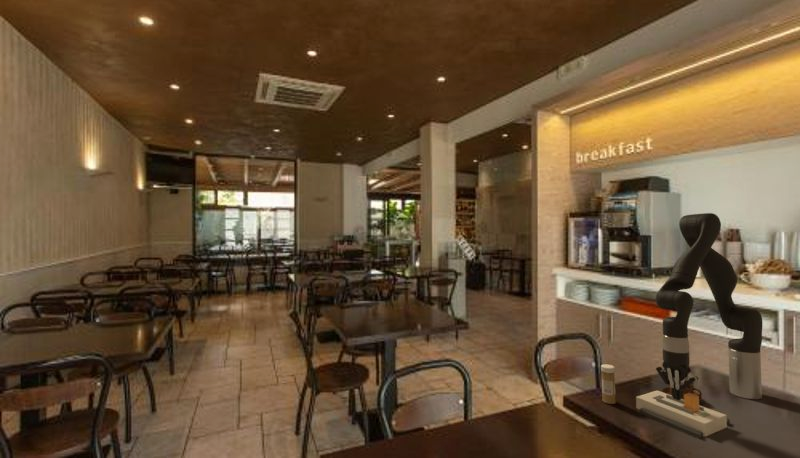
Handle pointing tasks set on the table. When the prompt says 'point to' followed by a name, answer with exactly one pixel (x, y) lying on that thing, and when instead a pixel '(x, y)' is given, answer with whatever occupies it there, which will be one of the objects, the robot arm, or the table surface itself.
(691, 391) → the cup and saucer
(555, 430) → the table surface
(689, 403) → the breaker toggle
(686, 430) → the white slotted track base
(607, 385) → the sprinkles bottle
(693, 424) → the slider base
